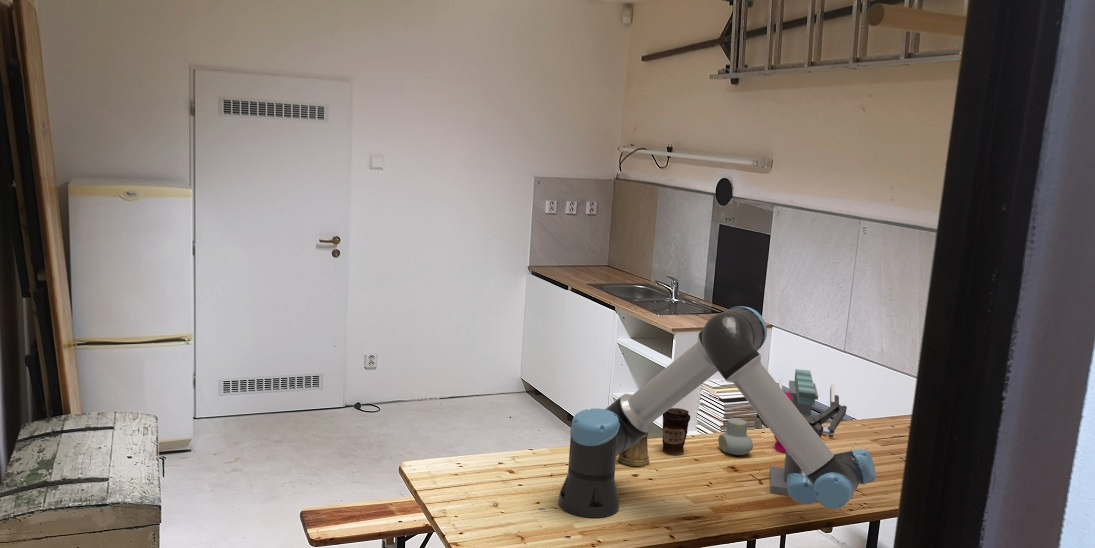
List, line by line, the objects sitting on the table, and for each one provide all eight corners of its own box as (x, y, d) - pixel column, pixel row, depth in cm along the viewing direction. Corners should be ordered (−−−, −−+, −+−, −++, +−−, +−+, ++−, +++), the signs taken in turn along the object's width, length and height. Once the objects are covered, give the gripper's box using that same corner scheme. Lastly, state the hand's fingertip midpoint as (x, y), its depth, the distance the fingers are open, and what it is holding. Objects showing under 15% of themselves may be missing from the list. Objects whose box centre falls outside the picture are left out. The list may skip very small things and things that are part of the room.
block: (814, 405, 212) (815, 393, 211) (798, 403, 213) (799, 391, 212) (809, 381, 237) (810, 370, 236) (794, 379, 238) (795, 369, 237)
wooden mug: (599, 459, 243) (603, 399, 240) (638, 454, 249) (642, 396, 247) (615, 470, 235) (620, 408, 232) (655, 465, 241) (660, 404, 239)
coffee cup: (686, 458, 248) (690, 416, 247) (658, 455, 250) (662, 413, 248) (687, 449, 257) (691, 408, 255) (660, 445, 258) (664, 405, 257)
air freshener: (715, 446, 262) (718, 415, 260) (740, 446, 263) (743, 415, 262) (728, 458, 251) (731, 426, 250) (754, 458, 253) (757, 426, 251)
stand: (816, 500, 223) (828, 398, 219) (770, 492, 226) (781, 392, 222) (813, 479, 239) (824, 383, 235) (769, 472, 241) (780, 378, 238)
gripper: (752, 448, 208) (757, 388, 225) (855, 463, 202) (853, 400, 219) (754, 427, 204) (759, 368, 220) (860, 442, 198) (857, 380, 214)
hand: (806, 384), depth 220 cm, fingers open, 12 cm apart
